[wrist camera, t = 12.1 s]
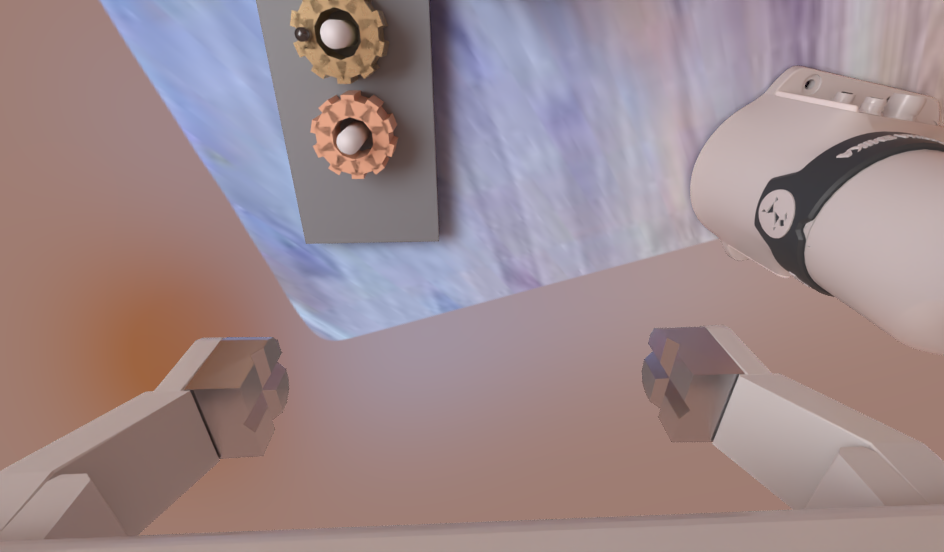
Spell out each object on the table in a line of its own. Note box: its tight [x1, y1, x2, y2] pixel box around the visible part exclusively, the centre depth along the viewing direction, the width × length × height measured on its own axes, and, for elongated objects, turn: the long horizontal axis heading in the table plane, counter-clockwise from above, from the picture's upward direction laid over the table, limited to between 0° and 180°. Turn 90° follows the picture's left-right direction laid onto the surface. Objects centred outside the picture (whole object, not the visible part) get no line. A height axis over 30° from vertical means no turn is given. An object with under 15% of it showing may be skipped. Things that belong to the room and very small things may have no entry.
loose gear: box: [310, 90, 398, 179], centre depth 37 cm, size 7×7×3 cm
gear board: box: [256, 0, 439, 244], centre depth 37 cm, size 13×22×6 cm, turn 0°
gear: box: [290, 0, 389, 84], centre depth 32 cm, size 7×7×4 cm
